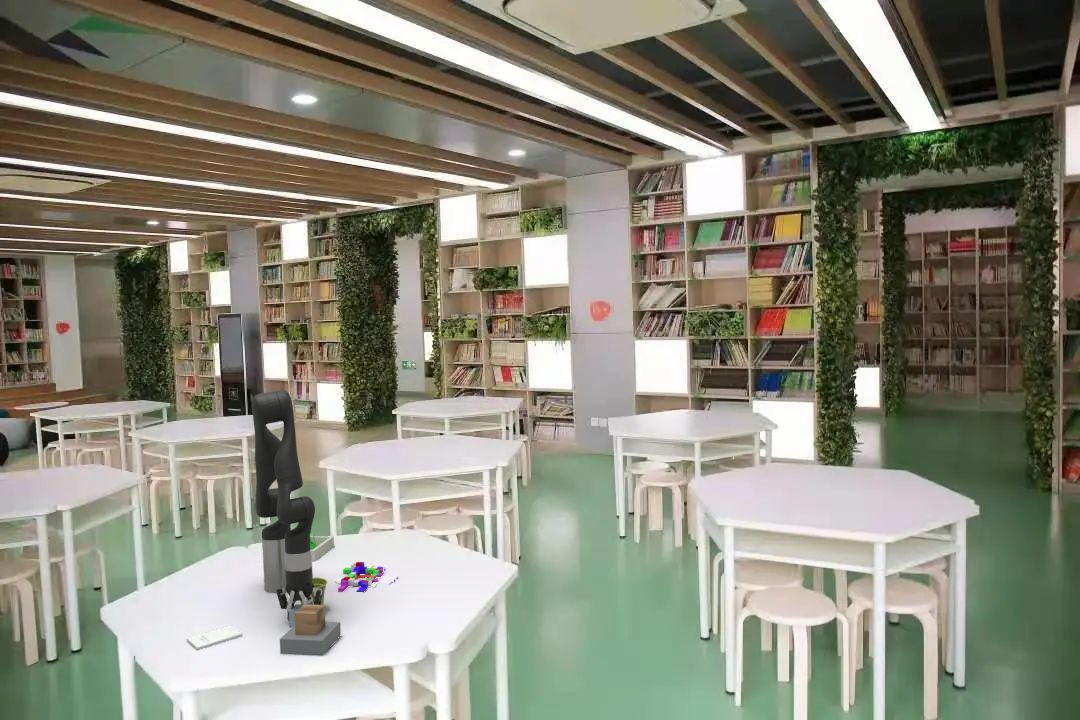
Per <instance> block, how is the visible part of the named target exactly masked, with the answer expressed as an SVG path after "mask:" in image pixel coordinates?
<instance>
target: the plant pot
mask: <svg viewBox="0 0 1080 720" xmlns="http://www.w3.org/2000/svg"><path fill="white" fill-rule="evenodd" d="M327 584H328V579H325V578H323V577H313V585H314V587H315V588H319V589H320V588H323V595H322V600H321V605H324V601H325V593H326V592H325V591H326V587H327ZM311 596H312V598H313V603H314V601H315V596H314V592H312V593H311ZM307 600H308V599H307ZM299 602H300V604H304V603H303V601H299Z"/></svg>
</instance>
